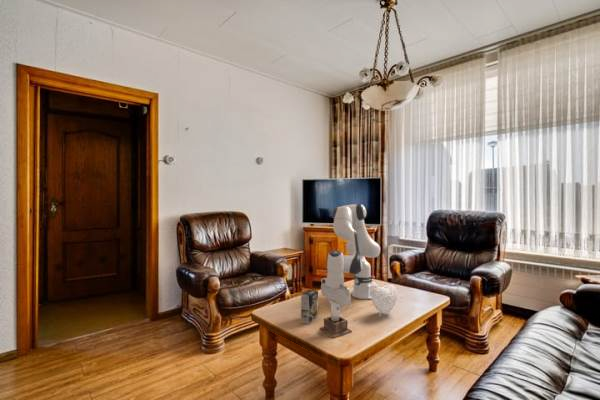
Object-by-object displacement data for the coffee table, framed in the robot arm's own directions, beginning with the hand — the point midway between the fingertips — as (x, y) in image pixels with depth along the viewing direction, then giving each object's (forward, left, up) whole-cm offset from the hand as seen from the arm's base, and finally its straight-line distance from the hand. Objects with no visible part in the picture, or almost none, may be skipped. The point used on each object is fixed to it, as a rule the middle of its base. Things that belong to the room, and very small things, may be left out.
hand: (335, 308), depth 156 cm
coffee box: (+4, -18, -12) cm, 22 cm away
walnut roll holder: (0, 0, -12) cm, 12 cm away
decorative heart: (-38, 0, -12) cm, 40 cm away
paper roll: (0, 0, -6) cm, 6 cm away
